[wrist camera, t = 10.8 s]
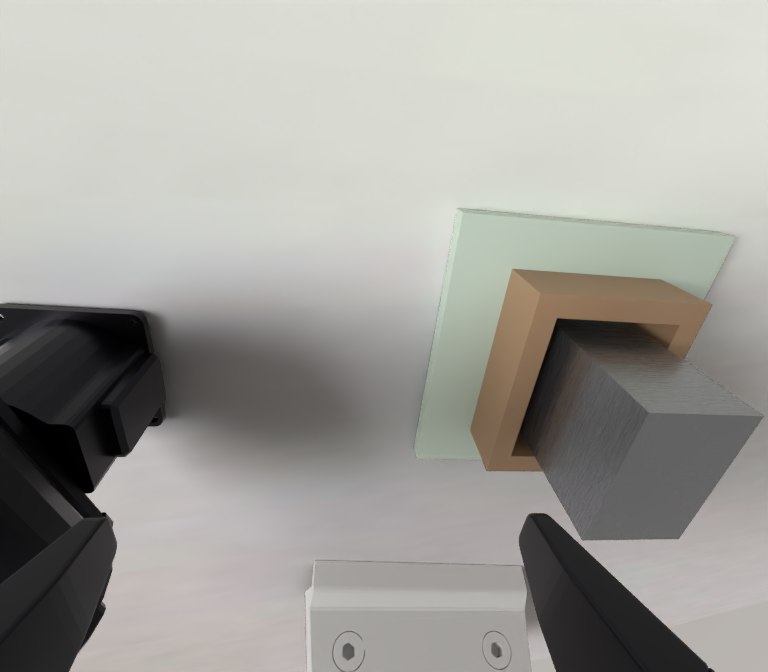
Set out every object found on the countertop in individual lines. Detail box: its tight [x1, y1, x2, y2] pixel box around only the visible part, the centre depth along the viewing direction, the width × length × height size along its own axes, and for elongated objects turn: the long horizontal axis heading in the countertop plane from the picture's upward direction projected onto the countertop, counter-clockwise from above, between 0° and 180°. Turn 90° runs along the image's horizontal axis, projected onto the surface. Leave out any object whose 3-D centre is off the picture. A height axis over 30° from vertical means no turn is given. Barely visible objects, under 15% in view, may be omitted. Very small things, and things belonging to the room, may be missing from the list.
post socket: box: [414, 208, 736, 471], centre depth 20 cm, size 13×14×4 cm
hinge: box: [305, 560, 532, 672], centre depth 28 cm, size 17×5×10 cm, turn 80°
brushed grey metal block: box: [520, 318, 764, 540], centre depth 17 cm, size 4×6×8 cm, turn 174°
